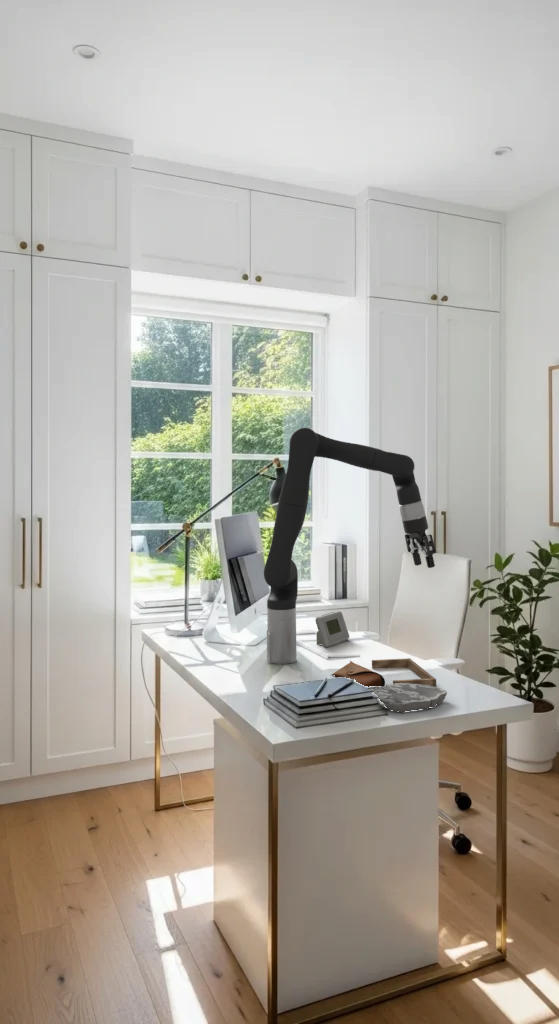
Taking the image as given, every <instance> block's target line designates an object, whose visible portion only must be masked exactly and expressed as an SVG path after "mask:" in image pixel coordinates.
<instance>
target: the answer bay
mask: <svg viewBox="0 0 559 1024" xmlns="http://www.w3.org/2000/svg"><path fill="white" fill-rule="evenodd" d="M372 668H383V669H398V668H399V669H401V668H404V669H405V668H408V669H409V670H410V671H412V672H413V673H414V674H415V675H416V676H417V677H419V678H415V679H413V678H412V679H411V678H410V679H395V680H392V684H394V683H410V684H422V685H430V686H435V687H437V678H435V677H434V676H433V675H431V674H430V673H429V672H428V671H426V670H425V669H424V668H423V667H421V666H420V665H418V663H416V662H415V661H414V660H412V659H411V658H407V657H406V658H392V659H391V658H388V659H387V658H386V659H385V658H384V659H372V660H371V669H372Z"/></svg>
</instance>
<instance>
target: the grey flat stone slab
mask: <svg viewBox="0 0 559 1024" xmlns="http://www.w3.org/2000/svg"><path fill="white" fill-rule="evenodd" d="M373 692H374V693H375V694H376V695H377V696H378V697H379V699H380V701H381V702H383V703H384V704H385V706H386V707H387V708H389V709H390V710H393V711H399V712H405V711H411V710H419V709H426V710H428V709H427V708H429V707H434V706H435V705H436V704H438V705H440V704H441V703H442V702H444V700H445V698H446V696H447V694H448V691H447V690H446V689H443V688H442V687H441V688H440V687H437V686H436V687H435V686H430V685H422V684H410V683H394V684H393V683H387V684H386V683H385V685H384V686H381V687H374V688H373V690H372V693H373ZM374 693H373V694H374ZM375 694H374V695H375ZM439 703H440V704H439ZM435 707H436V706H435ZM435 707H434V708H435ZM389 709H388V710H389ZM390 710H389V711H390Z"/></svg>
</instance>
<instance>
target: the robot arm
mask: <svg viewBox="0 0 559 1024" xmlns="http://www.w3.org/2000/svg"><path fill="white" fill-rule="evenodd" d="M315 457H316V458H323V459H330V460H333V461H338V462H341V463H344V464H348V465H350V466H353V467H358V468H360V469H365V470H369V471H374V472H381V473H384V474H387V475H391V476H392V480H393V483H394V485H395V489H396V497H397V501H398V505H399V512H400V517H401V521H402V526H403V530H404V533H405V534H404V538H405V539H404V540H405V543H406V550H407V552H408V553H410V555H412V559H413V564H414V566H421V565H422V559H421V554H420V552H422V553H423V554H424V558H425V561H426V566H427V568H428V569H431V568H434V567H435V566H436V564H435V560H434V559H435V558H434V557H433V555H434V554H436V553H437V550H436V546H435V543H434V538H433V535H432V534H428V535H427V533H426V531H427V530H428V529H429V523H428V520H427V516H426V515H427V514H426V511H425V507H424V504H423V502H422V498H421V492H420V489H419V486H418V484H417V482H416V477H415V473H414V471H415V462H414V459H412V458H411V457H410V456H408V455H406V454H400V453H396V452H392V451H385V450H382V449H380V448H376V447H373V446H368V445H363V444H360V443H359V444H358V443H353V442H346V441H341V440H337V439H333V438H330V437H327V436H325V435H322V434H320V433H317V432H315V430H313V429H311V428H309V427H300V428H298V429H296V430H295V431H293V433H292V434H291V435H290V438H289V448H288V460H287V461H288V462H287V469H286V473H285V476H284V480H283V482H282V485H281V491H280V492H279V493H280V494H279V497H278V501H277V507H276V513H275V514H276V515H275V519H274V520H275V521H274V524H273V525H274V526H273V530H272V532H273V533H272V537H271V538H272V539H271V544H270V548H269V551H268V555H267V558H266V562H265V565H264V569H263V577H264V580H265V582H266V584H267V585H268V586H269V587H270V589H269V590H270V591H269V595H268V598H267V599H266V606H267V608H266V613H267V617H266V619H267V629H266V659H267V661H268V663H269V664H278V665H285V664H291V663H295V662H297V613H296V612H297V609H296V608H297V604H296V603H297V599H298V593H299V592H298V591H299V589H298V588H299V586H298V583H299V575H298V573H299V572H298V567H297V565H296V563H295V561H294V560H293V559H292V557H293V551H294V548H295V544H296V541H297V540H298V537H299V535H300V533H301V530H302V528H303V525H304V523H305V518H306V515H307V509H308V503H309V496H310V478H311V472H312V467H313V463H314V461H315Z"/></svg>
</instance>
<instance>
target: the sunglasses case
mask: <svg viewBox="0 0 559 1024" xmlns="http://www.w3.org/2000/svg"><path fill="white" fill-rule="evenodd" d="M331 675H335V677H334V678H337V677H346V678H350V679H355V680H356V682H358V683H360V684H362V685H364V686H368V687H369V686H381V687H382V686H384V687H385V686H386V680H385V678H384V676H383V675H382V674H380V673H378V672H376V671H373V670H371V669H368V668H366V667H364V666H362V665H360V664H358V663H355V662H353V661H352V660H349V662H348V663H347V664H346V665H344V666H342V667H341V668H340V669H338V670H336V671H335V672H333V673H331Z"/></svg>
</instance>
